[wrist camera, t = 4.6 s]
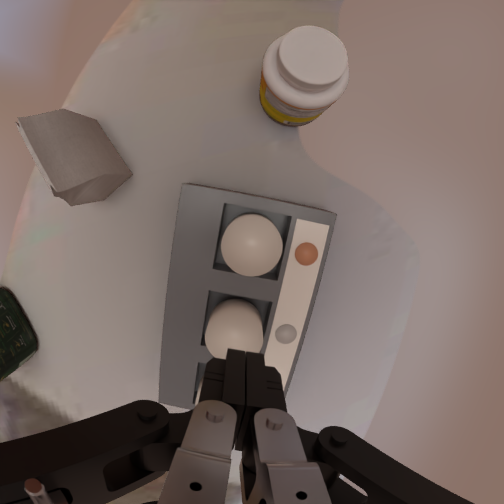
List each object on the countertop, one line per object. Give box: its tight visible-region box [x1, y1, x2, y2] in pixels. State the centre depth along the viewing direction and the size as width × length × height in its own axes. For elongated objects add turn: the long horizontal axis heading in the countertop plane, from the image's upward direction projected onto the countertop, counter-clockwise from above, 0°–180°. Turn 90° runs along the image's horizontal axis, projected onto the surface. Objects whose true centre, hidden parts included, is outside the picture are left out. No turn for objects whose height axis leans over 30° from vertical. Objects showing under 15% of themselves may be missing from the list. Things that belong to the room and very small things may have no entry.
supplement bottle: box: [260, 25, 349, 127], centre depth 19 cm, size 6×6×10 cm
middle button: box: [205, 299, 263, 359], centre depth 24 cm, size 4×4×3 cm
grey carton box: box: [15, 109, 133, 206], centre depth 20 cm, size 4×7×10 cm, turn 35°
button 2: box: [221, 212, 283, 277], centre depth 24 cm, size 4×4×3 cm
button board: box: [159, 183, 337, 410], centre depth 27 cm, size 21×12×3 cm, turn 169°
